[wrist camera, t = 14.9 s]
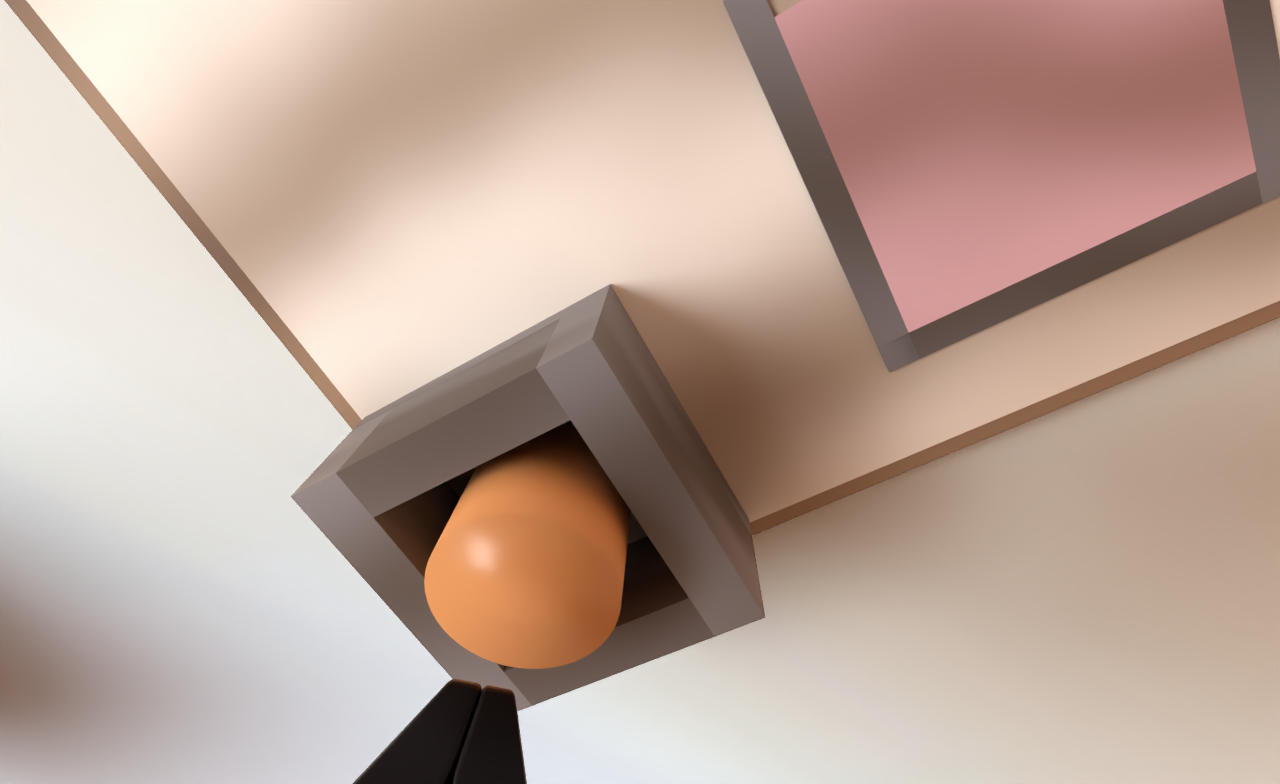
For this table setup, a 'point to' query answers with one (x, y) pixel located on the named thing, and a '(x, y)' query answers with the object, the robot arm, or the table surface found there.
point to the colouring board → (695, 242)
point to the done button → (533, 556)
